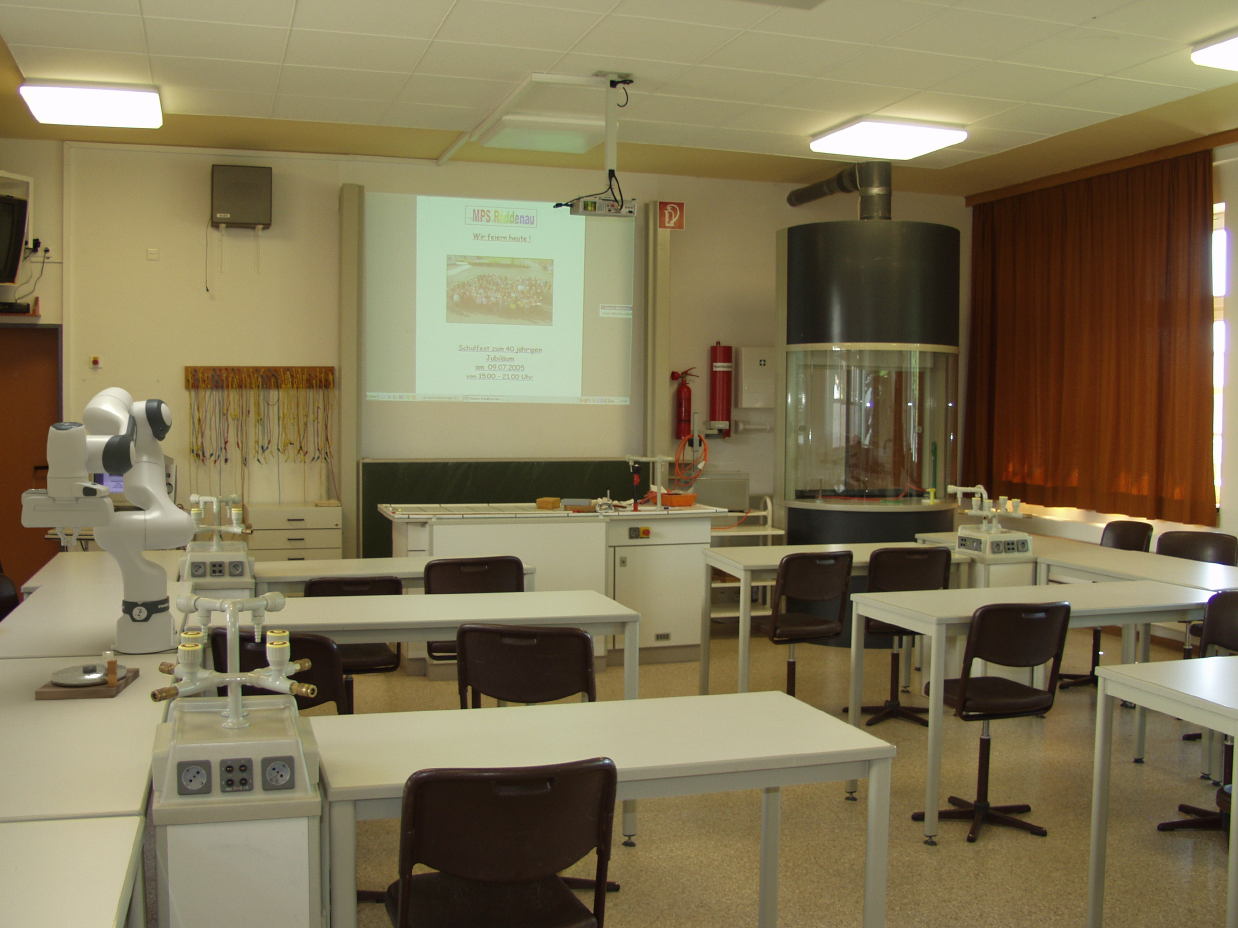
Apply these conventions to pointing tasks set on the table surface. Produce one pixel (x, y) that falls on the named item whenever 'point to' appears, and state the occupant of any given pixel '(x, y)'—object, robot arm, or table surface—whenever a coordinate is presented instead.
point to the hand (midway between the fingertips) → (68, 545)
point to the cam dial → (88, 673)
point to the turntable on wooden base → (90, 691)
